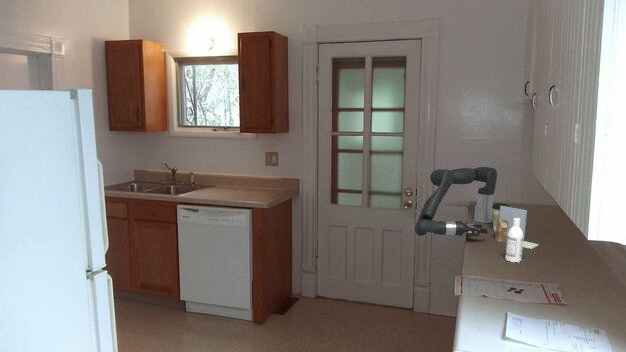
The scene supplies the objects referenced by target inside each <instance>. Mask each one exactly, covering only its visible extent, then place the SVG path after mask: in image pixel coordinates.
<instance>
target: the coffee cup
mask: <svg viewBox="0 0 626 352" xmlns="http://www.w3.org/2000/svg"><path fill="white" fill-rule="evenodd" d="M500 206H506V207H510V204H507V203H501V202H500V203H499V202H497V203H493V206H492V208H493V210H492V225H493V226H492V227H493V228H492V230H493V231H494V232H496V225H497V220H499V217H500Z"/></svg>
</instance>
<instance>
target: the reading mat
mask: <svg viewBox="0 0 626 352" xmlns="http://www.w3.org/2000/svg"><path fill="white" fill-rule="evenodd" d="M538 246H539V243H534V242H529V241H526V240H523V248H526V249H529V248H530V250H532V249H535V248H536V247H538Z"/></svg>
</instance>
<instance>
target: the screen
mask: <svg viewBox="0 0 626 352" xmlns="http://www.w3.org/2000/svg"><path fill="white" fill-rule="evenodd" d="M527 214H528V210H526V209H523V208H516V207H506V206H500V217H499V220H506V221H508V222H509V224H508V232H509V230H510V229H511V228H512V226H513V220H514V218H519V219H520V228H521V230H522V232H523V241H525V238H526V235H525V234H526V226H527V224H526V223H527V216H528V215H527Z"/></svg>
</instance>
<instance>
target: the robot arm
mask: <svg viewBox="0 0 626 352" xmlns="http://www.w3.org/2000/svg"><path fill="white" fill-rule="evenodd" d="M497 177H498V172H497V170H496V168H495V167H489V166H479V167H475V168H470V167H469V168H468V167H461V168H456V169H448V168H447V169H435V170H433V171H432V172H431V173H430V176H429V180H430V182H431V183H432V185H434V186H436V187H437V189H436V191H434V192H433V193H432V194H431V196H429V197H428V198H427V200H425V203H424V205H423V208H422V209H421V213H420V216H419V217H418V220H417V221H416V222H415V226H414V233H415V234H417V236H420V237H422V236H423V237H424V236H425V235H426V234H427V233H432V234H434V235H442V236H443V235H444V236H457V237H458V236H463V235H464V233H466V234H467V235H475V236H476V235H480V234H488V229H487V228H483V225H482V224H491V223H493V208H492V206H493V204H494V198H495V197H494V195H495V191H496V186H497V185H496V184H497ZM475 181H476V182H481V183H485V185H484V187H479V188H478V189H477V197H476V200H477V201H476V205H475V206H474V219H473V220H474V221H475V222H477V224H476V223H472V222H463V220H462V221H461V220H447V221H443V220H442V221H441V220H440V221H437V220H433V219H434V218H435V215H436V213H437V211H438V208H439V206H440V204H441V202H442V200H443V199H444V197H445V196H446V194H447V192H448V191H449V189H450V188H451V186H452V185H469V184H472V183H473V182H475ZM478 223H482V224H478Z"/></svg>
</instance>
